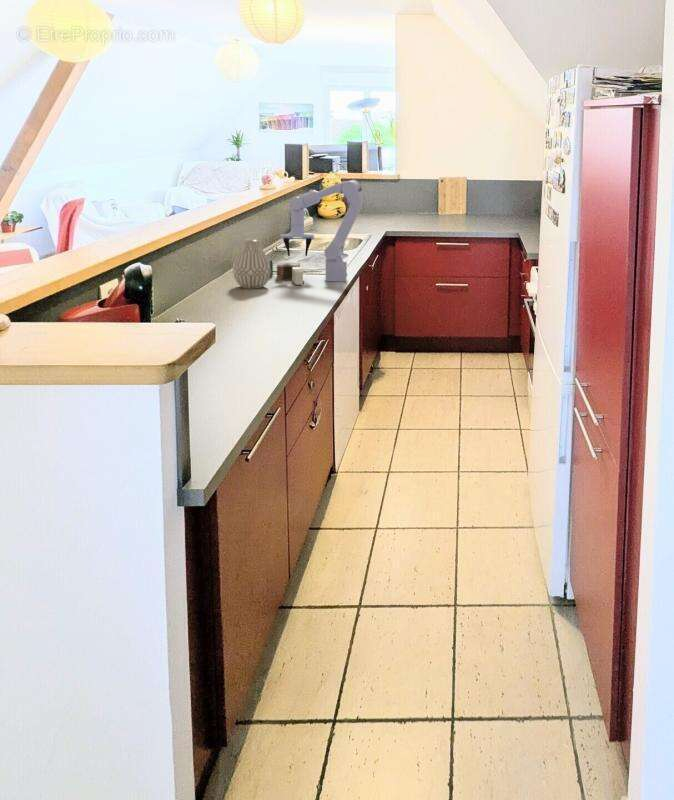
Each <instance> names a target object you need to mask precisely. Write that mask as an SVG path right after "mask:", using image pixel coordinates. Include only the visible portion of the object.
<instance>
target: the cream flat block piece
mask: <svg viewBox="0 0 674 800" xmlns="http://www.w3.org/2000/svg"><path fill="white" fill-rule="evenodd" d="M303 278H304V272H303V270H302V269H301V268H299V267H292V277H291V280H292V283H293V282H294V283H295V284H294V285H295V286H296V285H301V286H302V285H304V284H303V281H304V279H303Z"/></svg>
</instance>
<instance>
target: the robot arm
mask: <svg viewBox="0 0 674 800" xmlns="http://www.w3.org/2000/svg"><path fill="white" fill-rule="evenodd" d="M333 194H339V195H342V194H343V196H344V197H345V198H346V199H347V202H348V203H349V207H348V208H347V210H346V213H345V215H344V217H343V218H342V221H341V223H340V225H339V227H338V229H337V231H336V234H335V235H334V238H333V239H332V240H331V242H330V243H329V245H328V246H327V247H326V248H325V249H324V252H323V253H324V257H325V277H324V281H325V282H347V277H348V273H347V270H348V269H347V268H348V267H347V266H348V265H347V263H348V261H347V259H346V260H345V259H343V257H342V256H343V253H344V247H345V244H346V240H347V238H348V236H349V234H350V232H351V230H352V228H353V226H354V224H355V222H356V219H357V218H358V216H359V214H360V211H361V210H362V207H363V205H364V203H363V187H362V186H361V184H360V182H359V181H358V180H356V179H351V180H349V181H348V180H347V181H343V182H339V183H336V184H332V185H331V186H328V187H326V188H324V189H321V190H319V191H317V190H316V189H310V190H308V192H305V193H300V194H299V195H298V196H294V197H292V198H291V199H290V201H289V204H288V205H289V208H290V233H288V234H287V233H285V234H283V233H282V234H280V239H281V240H283V243H284V245H285V247H286V251H287V256H288V257H290V256H291V255H290V240H305V254H304V255H305V257H307V256H308V251H309V249H310V245H311V243H312V240H315V234H310V233H309V234H307V233H305V208H309V207H311V206H314V205H316V204H319V203H320V201H321V199H323V198H325V197H329V196H331V195H333Z"/></svg>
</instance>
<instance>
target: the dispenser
mask: <svg viewBox="0 0 674 800" xmlns="http://www.w3.org/2000/svg"><path fill="white" fill-rule="evenodd" d="M300 264H301V262H297V261H295V262H294V261H293V262H291V261H289V262H287V261H282V262H281V261H280V262H279V261H278V262H276V280H277V281H284V278H292V267H299V268H300ZM300 269H301V268H300Z"/></svg>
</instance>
